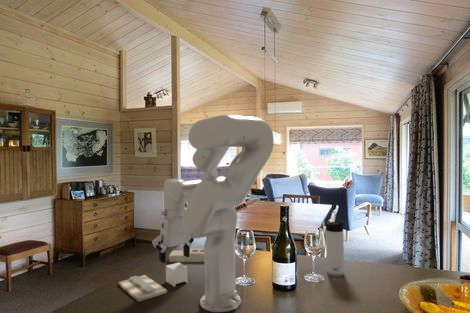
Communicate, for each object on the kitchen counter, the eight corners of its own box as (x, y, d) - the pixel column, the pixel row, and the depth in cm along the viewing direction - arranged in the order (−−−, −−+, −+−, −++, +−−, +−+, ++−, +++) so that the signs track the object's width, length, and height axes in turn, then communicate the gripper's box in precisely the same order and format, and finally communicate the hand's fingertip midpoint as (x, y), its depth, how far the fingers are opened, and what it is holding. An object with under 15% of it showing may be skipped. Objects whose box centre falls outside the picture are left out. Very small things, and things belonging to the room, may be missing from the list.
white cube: (187, 282, 119) (187, 266, 119) (174, 286, 115) (173, 270, 115) (179, 277, 123) (178, 262, 123) (165, 281, 120) (165, 265, 120)
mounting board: (167, 292, 110) (167, 289, 110) (138, 301, 104) (138, 298, 104) (144, 277, 124) (144, 274, 124) (118, 284, 118) (118, 282, 118)
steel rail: (155, 292, 108) (155, 289, 108) (148, 294, 107) (148, 291, 107) (136, 278, 121) (136, 275, 121) (129, 280, 119) (129, 277, 119)
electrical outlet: (172, 248, 149) (212, 248, 148) (173, 257, 149) (212, 257, 148) (168, 253, 141) (210, 253, 140) (169, 262, 142) (210, 262, 140)
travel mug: (339, 278, 119) (338, 224, 119) (323, 273, 124) (322, 221, 124) (347, 274, 123) (347, 221, 123) (332, 269, 128) (331, 219, 128)
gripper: (157, 218, 111) (157, 268, 111) (200, 211, 122) (200, 257, 122) (148, 214, 116) (148, 261, 117) (189, 208, 127) (189, 251, 128)
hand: (174, 259), depth 120 cm, fingers open, 9 cm apart
